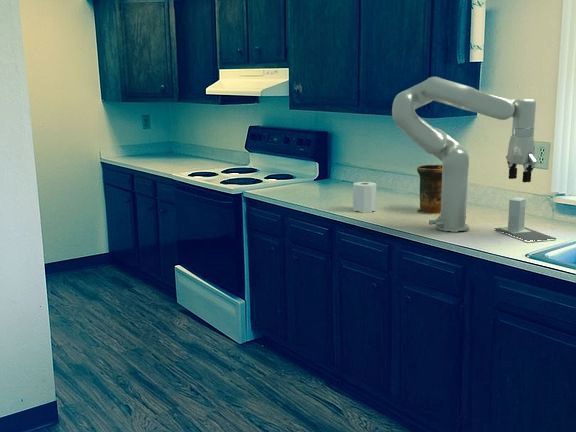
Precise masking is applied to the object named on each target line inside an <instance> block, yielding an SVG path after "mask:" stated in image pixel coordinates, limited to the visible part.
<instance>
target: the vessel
mask: <svg viewBox="0 0 576 432" xmlns="http://www.w3.org/2000/svg"><path fill="white" fill-rule="evenodd" d="M416 170H417V174H418V176H419V209H418V210H419V211H417V212H418V213H419V214H424V213H427V214H426V215H435V214H437V215H441V192H442V164H423V165H419V166H418V167H417V168H416Z"/></svg>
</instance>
